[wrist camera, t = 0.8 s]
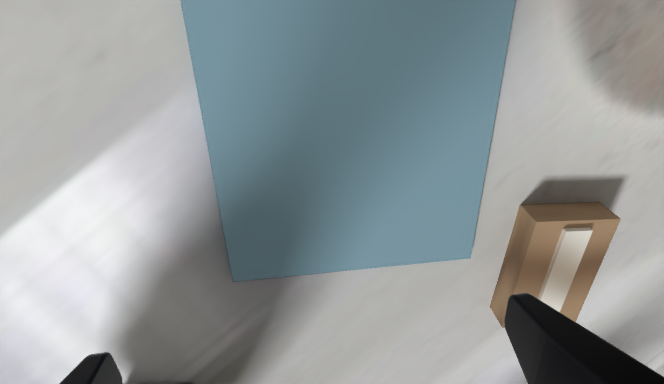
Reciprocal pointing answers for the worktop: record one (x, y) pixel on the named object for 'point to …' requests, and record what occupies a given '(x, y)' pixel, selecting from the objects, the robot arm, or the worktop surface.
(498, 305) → the brown cardboard box
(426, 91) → the mat
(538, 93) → the worktop surface
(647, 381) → the robot arm
